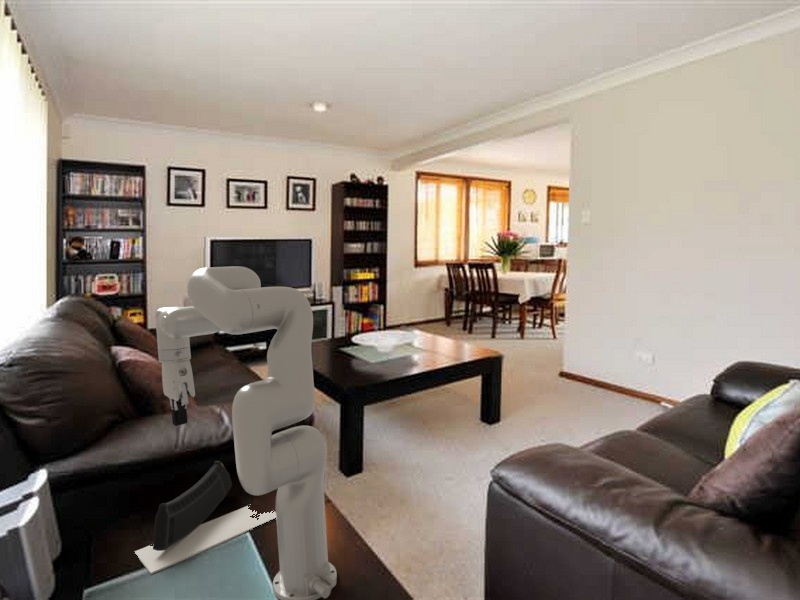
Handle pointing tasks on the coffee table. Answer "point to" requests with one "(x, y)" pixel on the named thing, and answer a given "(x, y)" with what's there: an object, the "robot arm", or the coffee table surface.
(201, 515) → the magazine
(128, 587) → the coffee table surface
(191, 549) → the felt mat
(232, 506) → the coffee table surface
